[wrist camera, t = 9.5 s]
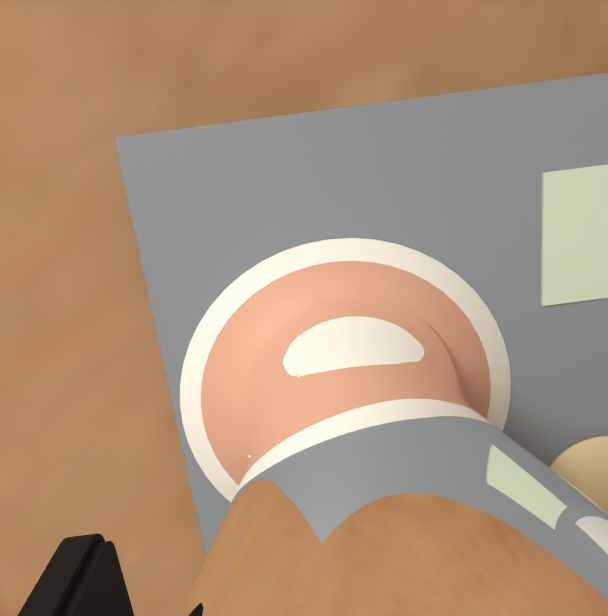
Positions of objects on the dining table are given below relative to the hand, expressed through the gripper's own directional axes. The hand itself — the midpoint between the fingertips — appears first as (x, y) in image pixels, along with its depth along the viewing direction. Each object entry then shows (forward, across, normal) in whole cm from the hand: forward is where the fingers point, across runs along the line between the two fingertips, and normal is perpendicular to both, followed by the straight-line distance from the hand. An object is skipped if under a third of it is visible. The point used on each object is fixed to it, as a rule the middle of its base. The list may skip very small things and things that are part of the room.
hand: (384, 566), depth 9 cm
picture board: (+7, -6, 0) cm, 9 cm away
